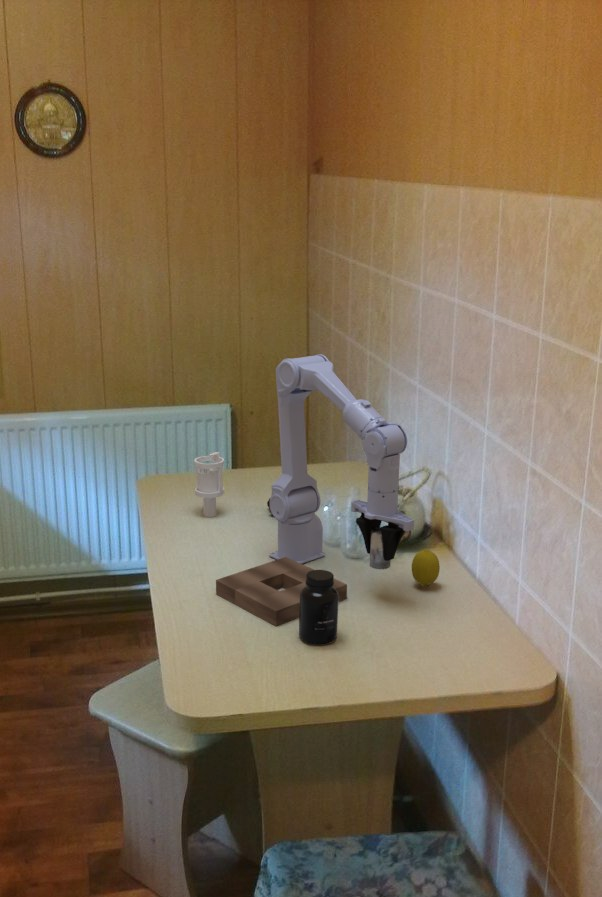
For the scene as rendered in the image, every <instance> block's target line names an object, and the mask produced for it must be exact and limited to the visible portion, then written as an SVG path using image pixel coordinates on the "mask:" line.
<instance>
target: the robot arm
mask: <svg viewBox="0 0 602 897" xmlns="http://www.w3.org/2000/svg"><path fill="white" fill-rule="evenodd" d="M275 380H276V381H275V382H276V395H277V408H278V409H277V410H278V425H279V428H278V429H279V445H280V446H279V447H280V460H281V461H280V464H281V465H280V466H281V474H280V475H279V477H278V478H277V479H276V480H275V481H274V482H273V483H272V484H271V495H270V498H269V499H270V510H271V512H272V513H271V512H270V513H271V515H272V514H273V515H272V516H273V517H274V519H275V520H277V551H273V552H270V553H268V554H269V555H268V556H269V557H271V558H273V559H275V560H278V559H281V558H284V557H287V558H289V559H292V560H294V561H296V562H298V563H301V564H304V563H308V562H311V561H313V560H314V561H315V560H316V559H320V558H323V557H325V556H326V554H325V553H324V552H323V543H324V540H323V536H324V535H323V534H324V530H323V528H324V527H323V523H322V520H321V519H320V517H319V516H318V515H317V514H316V513H317V512H318V511H319V509H320V507H321V496H320V493H319V491H318V485H317V483H318V481H317V480H316V479H315V478H314V477H312V476H311V475H309V474H308V459H307V458H308V457H307V456H308V455H307V438H306V437H307V436H306V419H305V418H306V417H305V414H306V413H305V400H306V398H307V397H309V395H310V394H311V393H312V392H313V391H318V392H320V393H321V394H323V395H324V397H325V398H327V399H328V400H329V401H330V402H332V403H333V405H335V407H337V408H338V409H339V410H341V411H342V414H343V415H342V419H343V422H344V423H345V424H346V425H347V426H348V427H349V428H350V429H351V430H352V431H353V433H355V435H357V436H358V438H360V440H361V442H362V449H363V451H364V453H365V457H366V458H365V460H366V461H365V462H366V463H367V465H366V466H368V476H367V501H364V500H360V499H356V500H354V501H351V507H350V509H351V511H350V512H352V513H360V516H359V517H357V518H356V519H355V523H356V525H357V526H358V528H359V530H360V532H361V535H362V538H363V541H364V542H363V543H364V545H365V550H366V554H368V555H370V540H371V529H373V528H378V527H380V531H381V534H382V538H383V545H384V551H383V553H384V560H385V561H389V560H391V561H392V560H394V558H395V556H396V553H397V549H398V547H399V543H401V539H402V538H403V536H404V535H405V533H407V532H410V531H413V530H415V519H414V518H411V517H409V516H408V515H406V514H405V513H403V512H402V511H400V510H399V509H398V503H399V502H398V500H399V484H400V483H399V480H400V461H401V460H400V459H401V454H403V453H404V452H405V451H406V449H407V446H408V436H407V433H406V432H405V431H406V430H404V428H403V427H402V426H401V425H400V424H399V423H395V422H390V421H387V420H386V419H385V417H383V416H382V415H381V414H380V413H378V411H377V410H376V409H375V407H373V406H372V403H371V402H370V401H369V400H366V399H364V398H361V399H357V398H356V397H355V396H354V395H353V393H351V391H350V390H349V389H348V387H347V386H346V385H345V384H344V383H343V382H342V380H341V379H340V378H339V377H338V376H337V374H336V373H335V367H334V364H333V363H332V362H331V361H330V360H329V359H328V357H327V356H326V355H325V354H321V353H319V354H315V355H308V356H303V357H294V358H284V359H283V360H281V361H280V363H279V364H278V365H277V366H276V367H275ZM270 510H269V511H270ZM382 522H385V523H387V524H385V525H383V526H381V525H382Z"/></svg>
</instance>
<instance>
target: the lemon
mask: <svg viewBox="0 0 602 897" xmlns="http://www.w3.org/2000/svg"><path fill="white" fill-rule="evenodd" d="M411 574H412V577H413V579H414V580H415V582H417V583H418V584H420V585H421V586H422V587H425V586H426V587H428V585H431V584H433V583H434V582H435V581H436V580H437V579H438V577H439V574H440V560H439V558H438V556H437V554H436V553H434V552H433V551H432V550H430V549H428V548H424V549H422V550H420V551H418V552H417V553H416V554H415V555H414V557H413V558H412V562H411Z"/></svg>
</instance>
